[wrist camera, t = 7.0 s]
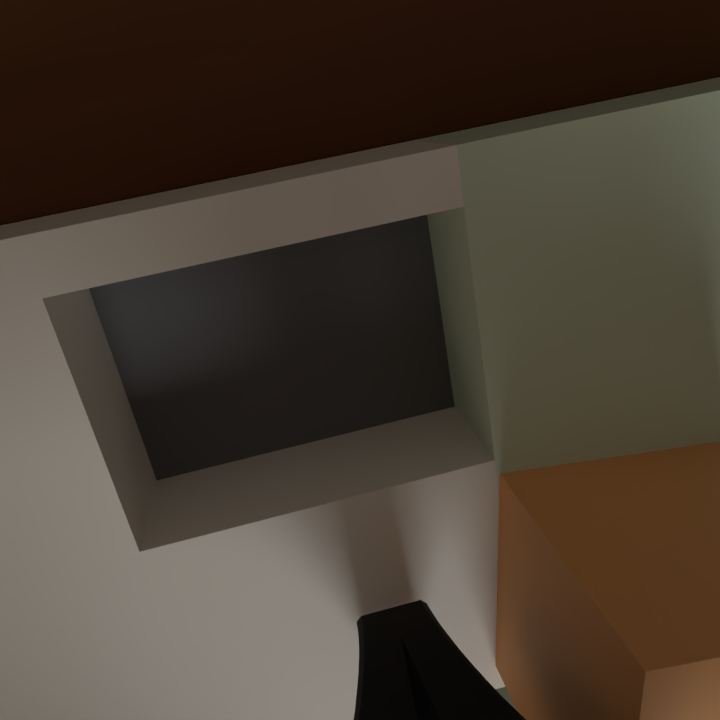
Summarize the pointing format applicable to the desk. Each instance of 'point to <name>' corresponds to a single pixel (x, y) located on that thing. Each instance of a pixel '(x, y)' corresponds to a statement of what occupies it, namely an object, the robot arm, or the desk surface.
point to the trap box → (333, 398)
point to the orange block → (612, 587)
